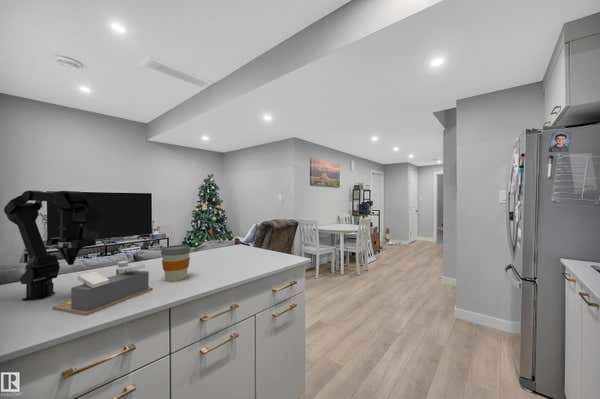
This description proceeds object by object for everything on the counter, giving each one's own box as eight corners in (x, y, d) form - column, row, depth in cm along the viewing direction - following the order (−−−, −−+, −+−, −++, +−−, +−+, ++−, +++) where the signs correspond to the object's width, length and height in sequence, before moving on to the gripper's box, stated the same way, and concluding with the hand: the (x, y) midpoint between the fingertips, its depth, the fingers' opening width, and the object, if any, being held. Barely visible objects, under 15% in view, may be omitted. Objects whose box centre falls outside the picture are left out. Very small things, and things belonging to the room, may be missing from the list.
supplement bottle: (130, 280, 113) (130, 259, 113) (130, 283, 108) (130, 262, 109) (116, 282, 110) (116, 261, 110) (115, 285, 105) (115, 263, 106)
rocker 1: (77, 280, 82) (78, 275, 82) (93, 275, 87) (94, 271, 86) (92, 289, 79) (93, 284, 79) (108, 284, 84) (109, 279, 84)
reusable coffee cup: (188, 280, 111) (188, 248, 111) (157, 283, 107) (157, 250, 107) (192, 273, 123) (192, 244, 123) (165, 275, 119) (164, 245, 119)
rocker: (118, 274, 95) (118, 270, 95) (131, 270, 100) (130, 266, 100) (133, 271, 93) (132, 267, 93) (145, 268, 98) (144, 264, 98)
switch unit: (52, 309, 82) (52, 286, 82) (122, 286, 105) (122, 268, 105) (86, 315, 77) (86, 291, 77) (152, 289, 99) (152, 271, 100)
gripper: (111, 222, 96) (110, 261, 95) (79, 221, 101) (79, 258, 101) (78, 224, 85) (77, 268, 85) (45, 224, 91) (44, 265, 90)
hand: (71, 264), depth 91 cm, fingers closed
